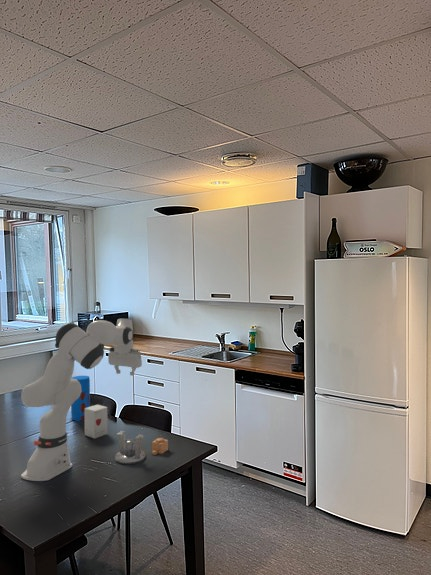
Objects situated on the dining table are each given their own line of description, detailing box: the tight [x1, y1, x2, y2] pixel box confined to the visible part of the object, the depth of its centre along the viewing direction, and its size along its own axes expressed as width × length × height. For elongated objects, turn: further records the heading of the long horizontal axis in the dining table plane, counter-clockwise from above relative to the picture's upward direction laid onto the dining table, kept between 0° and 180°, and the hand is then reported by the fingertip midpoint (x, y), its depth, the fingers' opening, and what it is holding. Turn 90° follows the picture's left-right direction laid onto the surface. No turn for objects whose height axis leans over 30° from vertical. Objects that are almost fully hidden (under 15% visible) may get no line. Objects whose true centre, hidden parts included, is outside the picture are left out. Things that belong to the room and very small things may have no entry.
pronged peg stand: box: [114, 430, 146, 465], centre depth 202 cm, size 14×14×11 cm
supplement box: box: [84, 404, 108, 440], centre depth 232 cm, size 9×9×15 cm
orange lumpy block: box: [151, 437, 169, 456], centre depth 210 cm, size 6×11×6 cm, turn 153°
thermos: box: [70, 375, 91, 422], centre depth 260 cm, size 11×11×25 cm
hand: (125, 374), depth 227 cm, fingers open, 8 cm apart
